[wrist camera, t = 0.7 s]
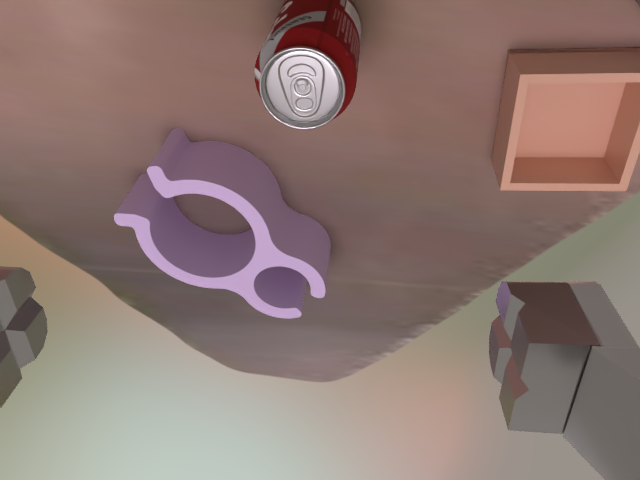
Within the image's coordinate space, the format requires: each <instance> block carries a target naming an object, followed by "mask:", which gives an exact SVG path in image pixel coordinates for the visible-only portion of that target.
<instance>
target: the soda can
mask: <svg viewBox="0 0 640 480" xmlns="http://www.w3.org/2000/svg"><path fill="white" fill-rule="evenodd" d="M360 43H361V22H360V18H359V15H358V13H357V11H356V9H355V7H354V5H353V4H352V3H351V2H350V0H286V2H285V3H284V4H283V6H282V8H281V9H280V12H279V14H278V16H277V18H276V20H275V22H274V24H273V26H272V28H271V30H270V32H269V34H268V36H267V38H266V40H265V42H264V44H263V46H262V48H261V50H260V53H259V55H258V57H257V60H256V65H255V83H256V87H257V90H258V93H259V95H260V97H261V99H262V102H263V104H264V106H265V108H266V109H267V111H268V112H269V113H270V114H271V115H272V116H273V117H274V118H275V119H276V120H278V121H279V122H281V123H282V124H284V125H286V126H289V127H292V128H296V129H314V128H318V127H320V126H323V125H325V124H327V123H328V122H330V121H331V120H332V119H334V118H336V117H337V116H338V115H340V114H341V113H342V112H343V111H344V110H345V109H346V107H347V106H348V105H349V103H350V101H351V100H352V97H353V95H354V92H355V88H356V81H357V71H358V62H359V52H360Z"/></svg>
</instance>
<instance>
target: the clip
mask: <svg viewBox="0 0 640 480" xmlns="http://www.w3.org/2000/svg"><path fill="white" fill-rule="evenodd" d="M147 173H148V174H146V173H143V174H141V175H140V176H139V178H138V179H137V181H136V182H135V184H134V185H133V187H132V188H131V190H130V192H129V193H128V195H127V196H126V198H125V199H124V201H123V202H122V204H121V206H120V207H119V209H118V210H117V212H116V213H115V215H114V220H115V222H116V223H117V224H118V225H120V226H130V227H132V228H133V229H134V230H135V232H136V236H137V239H138V241H139V244H140V246H141V247H142V249H143V251H144V252H145V254H146V255H147V256H148V257H149V259H150V260H151V261H152V262H153V263H154V264H155V265H156V266H158V267H159V268H160V269H161V270H163V271H164V272H165V273H167V274H169V275H170V276H172V277H174V278H176V279H178V280H180V281H182V282H185V283H188V284H191V285H195V286H199V287H205V288H222V289H228V290H231V291H234V292H236V293H238V294H240V295H241V296H242V297H244V298H245V299H246V301H247V302H248V303H249V304H250V305H251V306H253V307H254V308H255V309H257V310H259V311H260V312H262V313H264V314H267V315H270V316H273V317H278V318H297V317H300V316H301V314H302V308H303V302H304V295H305V289H306V283H307V280H308V282H309V284H310V287H311V295H312V296H313V297H316V298H323V297H324V296H325V290H326V282H327V274H328V266H329V258H330V250H331V242H330V238H329V236H328V234H327V232H326V230H325V229H324V228H323V227H322V226H321V225H320V224H319V223H318V222H317V221H315V220H314V219H312V218H310V217H308V216H306V215H303V214H300V213H297V212H295V211H293V210H292V209H291V208H289V207H288V206H287V205H286V204H285V202H284V201H283V199H282V196H281V192H280V188H279V185H278V183H277V181H276V179H275V177H274V175H273V174H272V172H271V171H270V170H269V168H268V167H267V166H266V165H265V164H264V163H263V162H262V161H261V160H260V159H258V158H257V157H256V156H255V155H253V154H252V153H250V152H248V151H246V150H245V149H243V148H240V147H238V146H235V145H232V144H229V143H225V142H219V141H200V142H191V141H189V140H188V138H187V136H186V133H185V131H184V130H183V129H181V128H176V129H173V130H172V131H171V132H170V134H169V135H168V137H167V139H166V140H165V142H164V143H163V145H162V147H161V148H160V150H159V151H158V153H157V154H156V156H155V158H154V159H153V161H152V162H151V164H150V165H149V167H148V169H147ZM190 193H193V194H204V195H208V196H212V197H215V198H218V199H220V200H222V201H224V202H226V203H228V204H230V205H231V206H233V207H234V208H235V209H237V210H238V211H239V212H240V213H241V214H242V215H243V216H244V217H245V218H246V220H247V221H248V222H249V224H250V226H251V228H252V229H250V230H248V231H246V232H243V233H239V234H232V235H224V234H217V233H213V232H209V231H207V230H204V229H202V228H200V227H198V226H196V225H195V224H193V223H192V222H191V221H189V220H188V219H187V218H186V217H185V216H184V215H183V214H182V212H181V211H180V210H179V208H178V207H177V205H176V203H175V200H174V197H173V196H177V195H181V194H190Z"/></svg>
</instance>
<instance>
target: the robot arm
mask: <svg viewBox="0 0 640 480" xmlns="http://www.w3.org/2000/svg"><path fill="white" fill-rule="evenodd" d="M35 288H36V286H35V284H34V281H33V279H32V276H31V274H30V272H29V271H27V270H25V269H23V268H20V267H19V268H18V267H0V408H1V407H2V406H3V404H4V403H5V402H6V400H7V399H8V397H9V396H10V395H11V393H12V392H13V390H14V389H15V388H16V386H17V385H18V383H19V382H20V380H21V379H22V375H21V371H20V368H22V367H23V366H25V365H27V364H28V363H30V362H31V361H34V360H35V359H36V358H37V356H38V354H39V353H40V352H41V350H42V348H43V347H44V343H45V339H46V335H47V318H46V316H45V312H44V309H43V307H42V306H40V305H39V304H38V303H37V302H36V301H35V300H33V299H32V298H31V297H32V294H33V293H34V291H35ZM496 303H497V307H498V309H499V313H500V315H499V316H498V317H497V318H496V319H495V320H494V321H493V322H492V325H491V331H490V337H489V356H490V364H491V369H492V372H493V376H494V378H496V379H497V380H498V381H499V382H500V383H501V384H502V386H501V391H500V396H499V399H500V402H501V406H502V410H503V413H504V417H505V420H506V424H507V428H508V430H513V431H514V430H515V431H528V432H542V433H556V434H557V433H558V434H564V435H563V437H564V438H565V439H566V440H567V441H568V442H569V443H570V444H571V445H572V446H573V447H574V448H575V449H576V450H577V451H578V452H579V454H581V456H582V457H583V458H584V459H585V460H586V461H587V462H588V463H589V464H590V465H591V466H592V467H593V468H594V469H595V470H596V471H597V472H598V473H599V474H600V475H601V476H602V477H603V478H604V479H605V480H640V348H639V346H638V345H637V343H636V341H635V340H634V338H633V337H632V335H631V333H630V332H629V330H628V329H627V327H626V325H625V324H624V322H623V320H622V319H621V317H620V316H619V314H618V312H617V311H616V309H615V307H614V306H613V304H612V303H611V301H610V299H609V298H608V296H607V295H606V293H605V291H604V290H603V288H602V287H601V285H600V284H598V283H596V282H563V283H555V282H501V284H500V287H499V289H498V294H497V298H496Z"/></svg>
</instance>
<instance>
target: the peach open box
mask: <svg viewBox="0 0 640 480" xmlns="http://www.w3.org/2000/svg"><path fill="white" fill-rule="evenodd" d="M639 152H640V47H636V48H582V49H528V50H509V51H508V57H507V64H506V70H505V77H504V83H503V89H502V96H501V102H500V109H499V115H498V121H497V128H496V134H495V140H494V147H493V153H492V163H493V167H494V170H495V174H496V177H497V181H498V184H499V188H500V190H540V191H626V190H627V187H628V184H629V181H630V178H631V175H632V172H633V169H634V166H635V164H636V161H637V158H638V155H639Z"/></svg>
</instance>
